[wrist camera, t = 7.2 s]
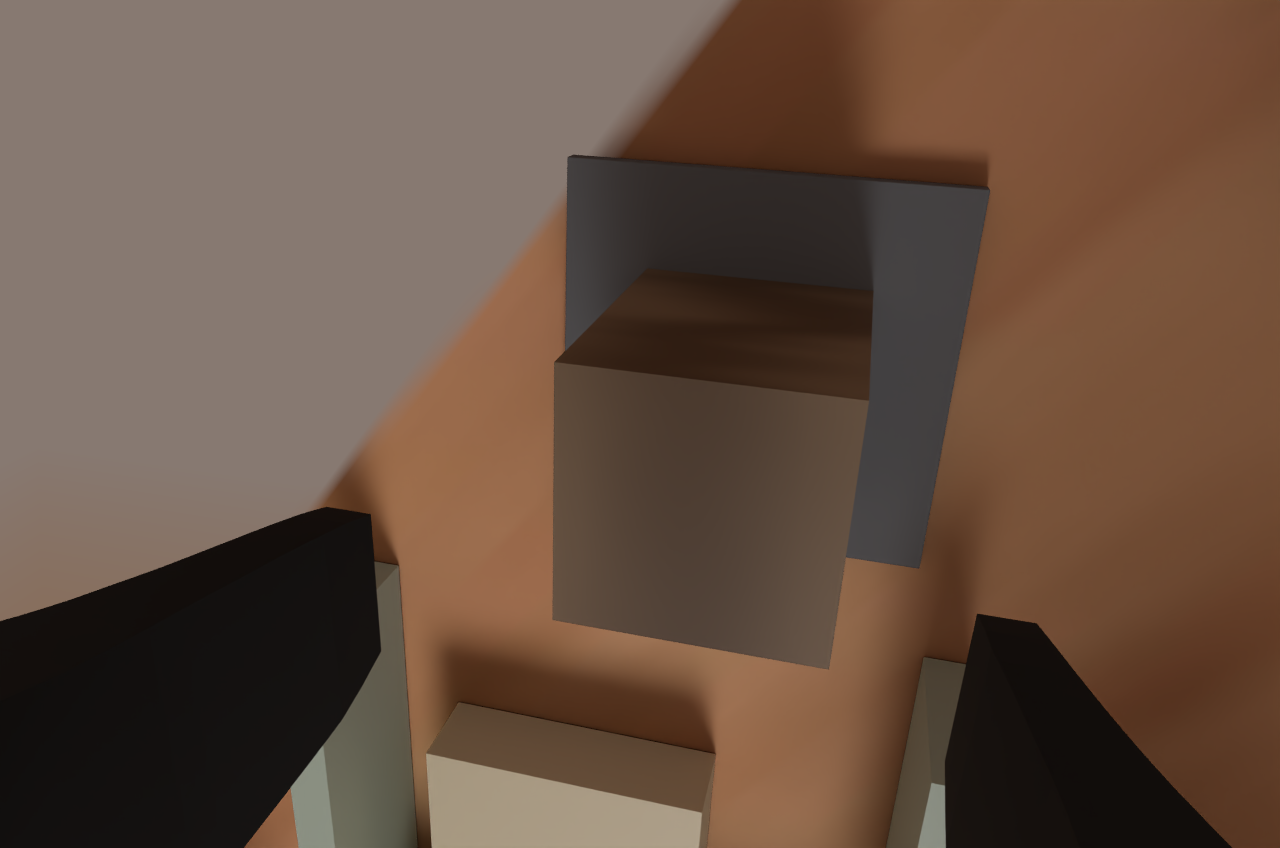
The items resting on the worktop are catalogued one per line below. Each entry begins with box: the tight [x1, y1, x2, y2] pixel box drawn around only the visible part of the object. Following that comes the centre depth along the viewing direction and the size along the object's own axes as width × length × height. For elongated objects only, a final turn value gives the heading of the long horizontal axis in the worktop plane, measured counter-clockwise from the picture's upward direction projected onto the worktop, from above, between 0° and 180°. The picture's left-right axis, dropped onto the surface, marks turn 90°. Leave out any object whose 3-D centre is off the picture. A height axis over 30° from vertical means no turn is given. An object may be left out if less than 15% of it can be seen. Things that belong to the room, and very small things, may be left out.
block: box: [553, 268, 874, 669], centre depth 17 cm, size 4×4×6 cm
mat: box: [565, 155, 990, 568], centre depth 20 cm, size 8×8×1 cm
